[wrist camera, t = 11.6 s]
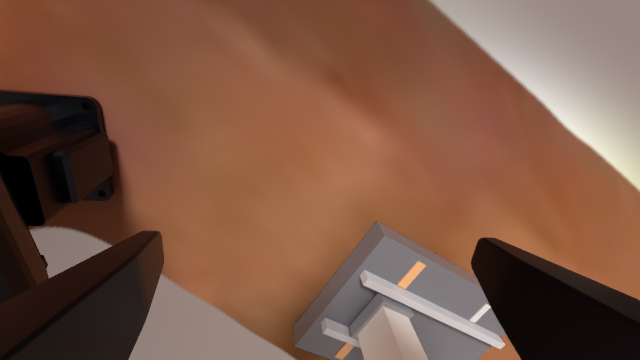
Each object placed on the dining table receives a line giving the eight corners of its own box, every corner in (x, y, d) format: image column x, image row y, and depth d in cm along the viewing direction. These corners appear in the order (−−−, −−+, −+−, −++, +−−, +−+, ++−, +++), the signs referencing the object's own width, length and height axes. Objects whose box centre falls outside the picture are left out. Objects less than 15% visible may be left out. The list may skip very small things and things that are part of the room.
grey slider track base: (293, 326, 27) (295, 357, 25) (376, 220, 24) (389, 243, 22) (427, 377, 32) (441, 408, 30) (511, 296, 29) (535, 322, 27)
